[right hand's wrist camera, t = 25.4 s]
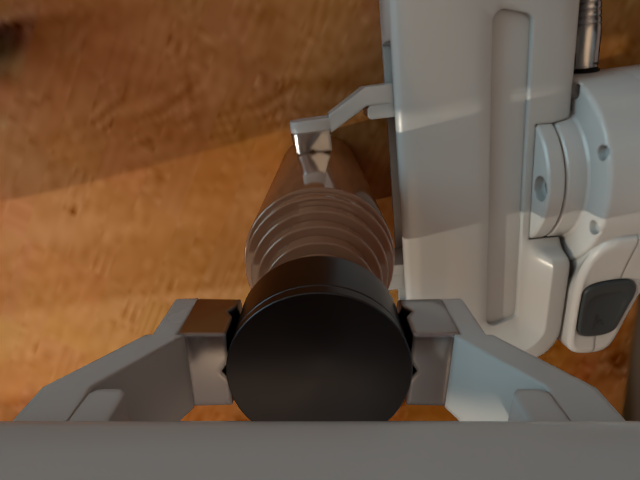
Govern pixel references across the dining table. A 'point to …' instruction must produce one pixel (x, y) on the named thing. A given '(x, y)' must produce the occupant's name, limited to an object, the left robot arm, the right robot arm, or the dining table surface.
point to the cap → (319, 346)
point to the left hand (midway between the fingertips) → (301, 202)
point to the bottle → (320, 216)
